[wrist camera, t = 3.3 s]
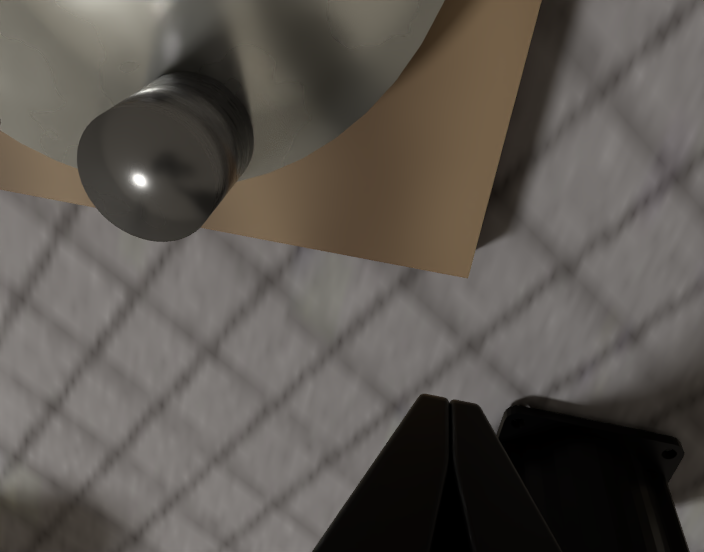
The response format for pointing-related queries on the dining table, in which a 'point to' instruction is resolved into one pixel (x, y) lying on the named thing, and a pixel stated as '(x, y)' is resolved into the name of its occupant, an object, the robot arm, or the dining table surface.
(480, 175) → the base board
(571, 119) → the dining table surface
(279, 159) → the flange plate
